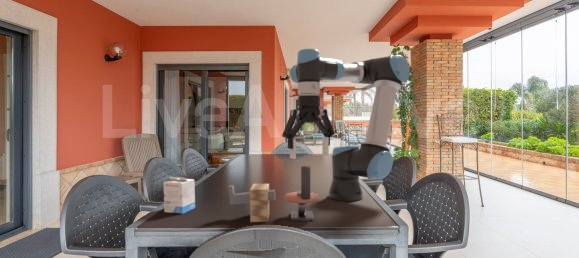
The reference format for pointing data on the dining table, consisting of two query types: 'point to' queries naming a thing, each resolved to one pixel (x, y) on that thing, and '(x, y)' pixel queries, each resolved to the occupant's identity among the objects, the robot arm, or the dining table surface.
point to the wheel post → (302, 213)
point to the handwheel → (303, 189)
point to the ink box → (179, 195)
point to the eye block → (259, 203)
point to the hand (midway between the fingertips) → (309, 156)
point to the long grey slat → (245, 196)
